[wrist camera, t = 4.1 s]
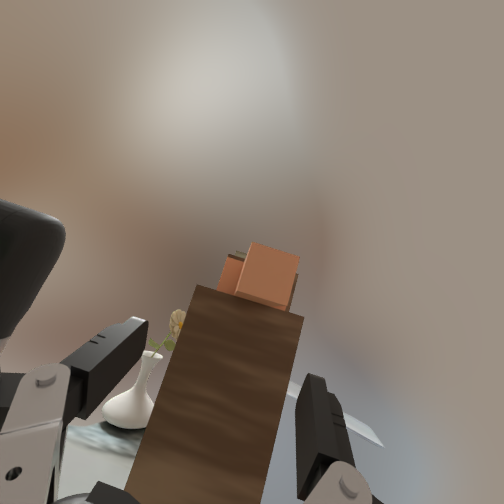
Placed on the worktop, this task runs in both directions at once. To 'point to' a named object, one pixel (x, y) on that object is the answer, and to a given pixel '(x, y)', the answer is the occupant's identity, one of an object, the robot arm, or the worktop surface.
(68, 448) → the worktop surface
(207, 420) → the walnut step stand
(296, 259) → the coral tab brick
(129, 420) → the flower in vase
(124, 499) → the robot arm
